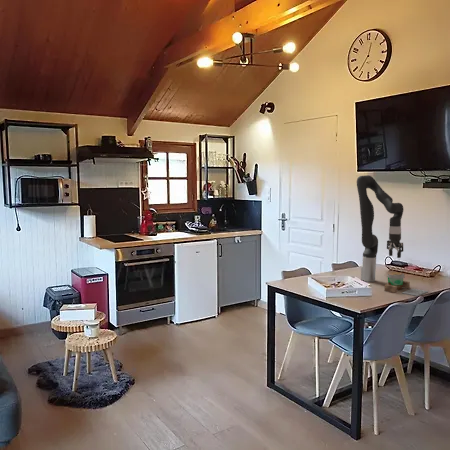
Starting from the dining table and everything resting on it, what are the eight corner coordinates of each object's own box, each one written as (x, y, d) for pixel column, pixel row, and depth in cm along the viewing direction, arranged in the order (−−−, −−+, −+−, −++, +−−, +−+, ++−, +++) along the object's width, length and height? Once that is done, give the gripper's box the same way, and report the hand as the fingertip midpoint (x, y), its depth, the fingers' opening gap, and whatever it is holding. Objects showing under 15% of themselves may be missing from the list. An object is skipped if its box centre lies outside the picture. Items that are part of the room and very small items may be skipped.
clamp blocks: (384, 290, 298) (384, 284, 298) (399, 285, 313) (399, 280, 312) (394, 293, 293) (394, 286, 293) (409, 287, 308) (409, 281, 307)
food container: (391, 291, 298) (392, 276, 297) (386, 288, 304) (386, 274, 303) (408, 289, 302) (408, 275, 301) (402, 287, 308) (402, 273, 306)
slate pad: (401, 293, 292) (401, 292, 292) (412, 289, 303) (412, 288, 303) (417, 296, 285) (417, 295, 285) (428, 292, 296) (428, 291, 296)
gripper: (383, 232, 310) (383, 255, 311) (397, 234, 296) (396, 259, 298) (393, 231, 312) (392, 254, 313) (406, 233, 298) (406, 258, 300)
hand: (394, 256), depth 305 cm, fingers open, 8 cm apart
